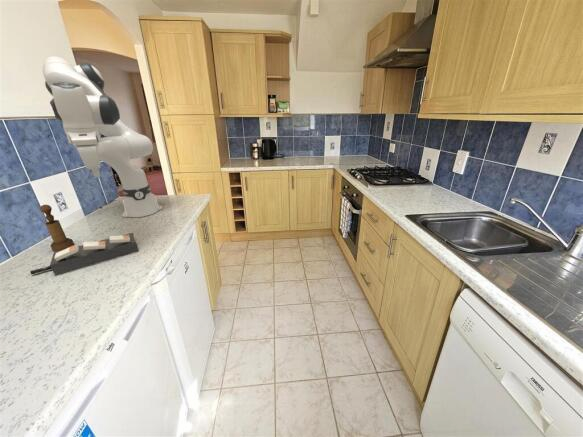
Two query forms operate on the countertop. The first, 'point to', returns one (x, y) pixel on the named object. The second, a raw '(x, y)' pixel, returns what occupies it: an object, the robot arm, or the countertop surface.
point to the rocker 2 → (119, 238)
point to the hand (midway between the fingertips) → (97, 176)
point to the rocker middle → (94, 245)
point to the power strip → (90, 256)
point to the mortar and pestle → (56, 231)
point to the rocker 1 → (66, 252)
